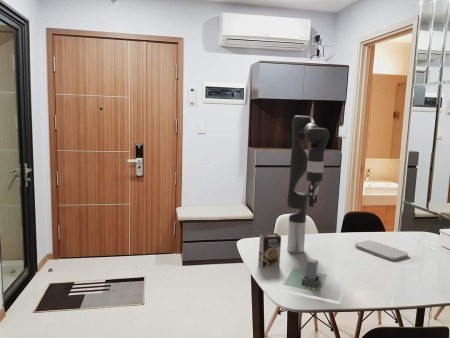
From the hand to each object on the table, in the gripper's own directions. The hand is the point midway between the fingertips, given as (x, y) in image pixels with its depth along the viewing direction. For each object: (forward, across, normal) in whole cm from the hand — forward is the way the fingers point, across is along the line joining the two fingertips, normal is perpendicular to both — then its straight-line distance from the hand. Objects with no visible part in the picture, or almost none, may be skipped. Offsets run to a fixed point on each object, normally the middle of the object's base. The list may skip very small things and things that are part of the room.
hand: (312, 204), depth 171 cm
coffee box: (+33, +3, -19) cm, 38 cm away
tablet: (+34, -48, +32) cm, 67 cm away
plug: (+32, +15, +4) cm, 36 cm away
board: (+33, +12, +1) cm, 35 cm away
